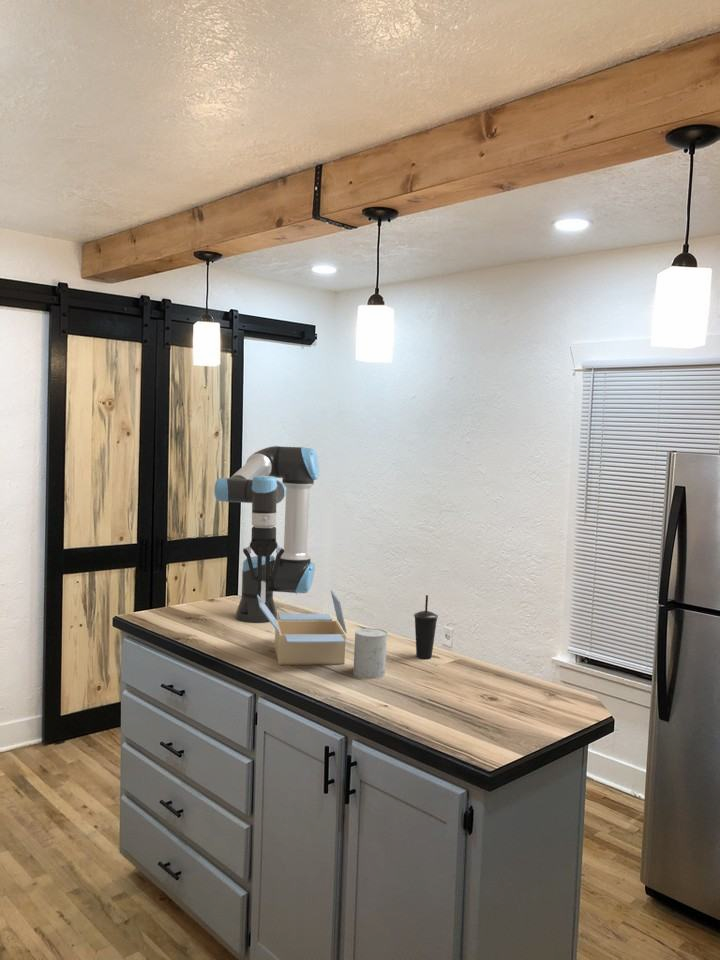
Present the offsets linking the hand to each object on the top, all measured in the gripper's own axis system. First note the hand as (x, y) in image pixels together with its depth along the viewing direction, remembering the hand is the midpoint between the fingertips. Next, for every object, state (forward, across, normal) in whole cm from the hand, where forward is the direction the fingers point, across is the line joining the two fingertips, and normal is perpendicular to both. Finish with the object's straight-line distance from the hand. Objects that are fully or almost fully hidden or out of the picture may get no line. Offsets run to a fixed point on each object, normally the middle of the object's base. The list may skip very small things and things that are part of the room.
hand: (262, 601), depth 237 cm
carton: (+18, +14, 0) cm, 23 cm away
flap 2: (+3, +24, 0) cm, 24 cm away
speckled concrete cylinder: (+18, +30, -19) cm, 40 cm away
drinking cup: (+19, +51, -3) cm, 55 cm away
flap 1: (+4, +2, 0) cm, 4 cm away
